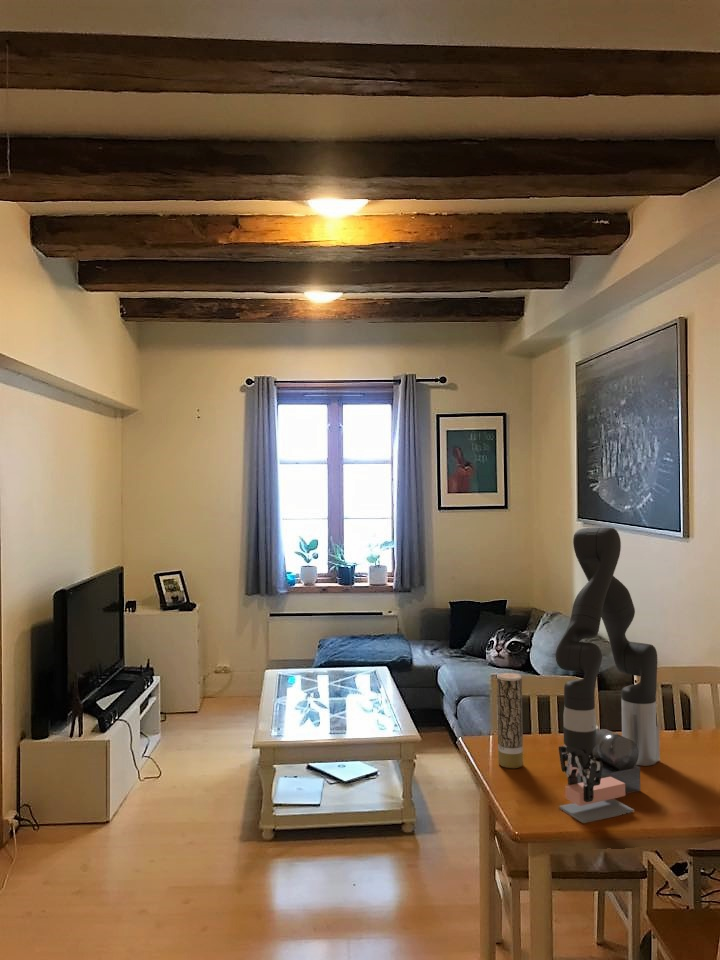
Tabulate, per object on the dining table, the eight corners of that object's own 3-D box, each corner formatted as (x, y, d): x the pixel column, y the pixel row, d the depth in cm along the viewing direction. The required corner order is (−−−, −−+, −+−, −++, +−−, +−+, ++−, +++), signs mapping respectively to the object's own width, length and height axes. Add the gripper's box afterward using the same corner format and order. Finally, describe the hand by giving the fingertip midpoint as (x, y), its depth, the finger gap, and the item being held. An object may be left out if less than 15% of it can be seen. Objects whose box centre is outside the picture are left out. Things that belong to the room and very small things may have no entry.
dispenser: (613, 776, 208) (612, 726, 208) (641, 790, 198) (640, 738, 198) (573, 784, 203) (573, 732, 203) (600, 799, 193) (599, 745, 193)
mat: (608, 798, 194) (608, 795, 194) (634, 812, 186) (634, 809, 186) (559, 808, 188) (559, 806, 188) (583, 823, 180) (582, 820, 180)
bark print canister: (507, 770, 213) (506, 679, 213) (493, 762, 219) (492, 674, 220) (527, 767, 216) (526, 677, 216) (513, 759, 222) (512, 671, 222)
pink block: (610, 788, 192) (610, 776, 192) (625, 795, 188) (625, 783, 188) (565, 798, 186) (565, 786, 186) (579, 806, 182) (579, 793, 182)
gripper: (612, 732, 180) (613, 805, 180) (573, 715, 193) (574, 783, 193) (586, 736, 177) (587, 811, 177) (548, 719, 191) (549, 788, 190)
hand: (580, 796), depth 185 cm, fingers closed on pink block, 5 cm apart
